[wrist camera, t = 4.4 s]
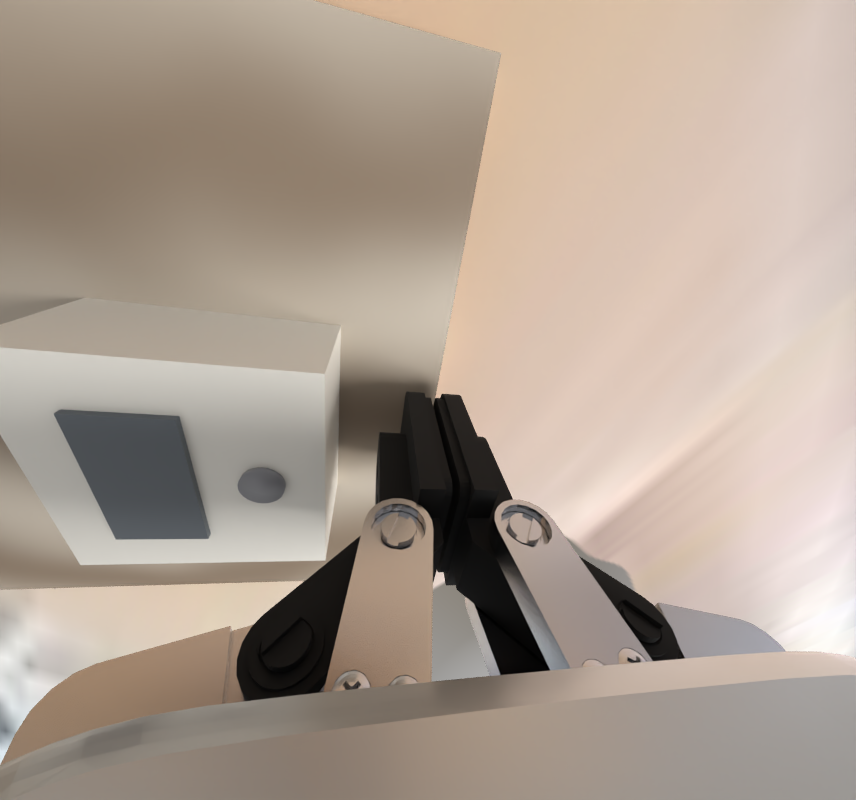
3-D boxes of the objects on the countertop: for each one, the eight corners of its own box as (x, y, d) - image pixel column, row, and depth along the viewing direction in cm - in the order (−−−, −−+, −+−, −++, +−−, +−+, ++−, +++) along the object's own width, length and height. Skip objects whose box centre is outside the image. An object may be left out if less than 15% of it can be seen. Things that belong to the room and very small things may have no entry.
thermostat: (85, 297, 8) (-68, 345, 5) (340, 325, 9) (323, 377, 6) (151, 479, 11) (75, 570, 8) (337, 484, 12) (324, 565, 9)
